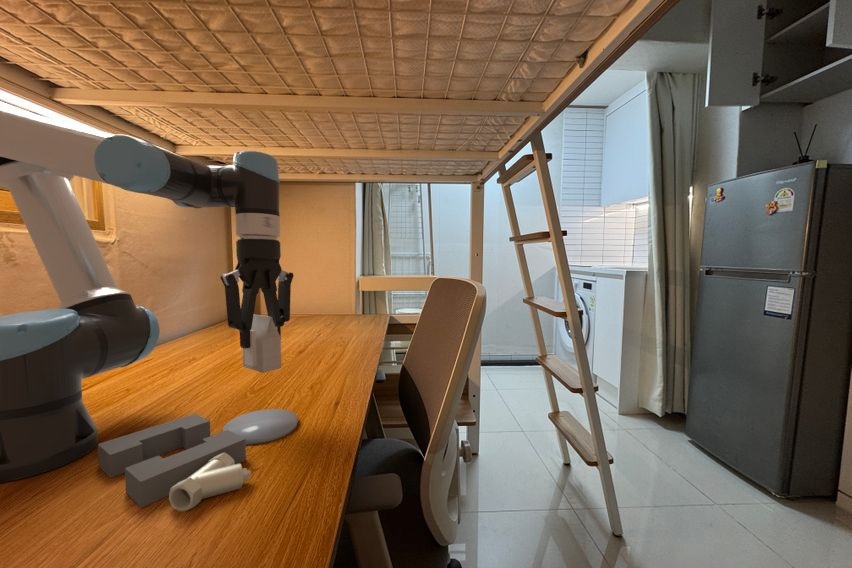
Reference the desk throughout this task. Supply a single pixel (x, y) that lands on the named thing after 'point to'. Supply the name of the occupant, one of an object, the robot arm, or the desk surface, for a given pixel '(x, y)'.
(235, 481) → the pipe fitting
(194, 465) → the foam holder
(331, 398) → the desk surface
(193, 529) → the desk surface
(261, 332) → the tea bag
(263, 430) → the blue-grey round plate
